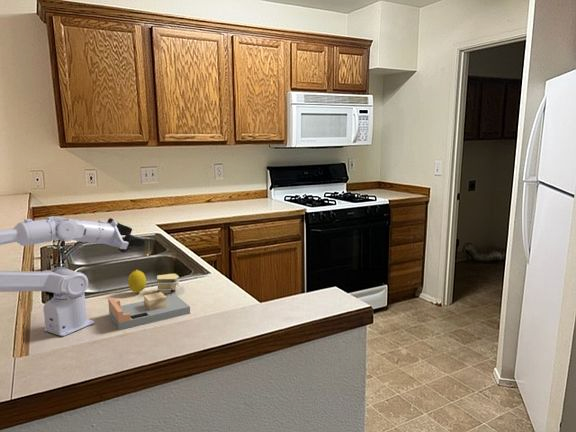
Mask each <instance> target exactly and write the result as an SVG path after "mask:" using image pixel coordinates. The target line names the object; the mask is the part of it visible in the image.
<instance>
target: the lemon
mask: <svg viewBox="0 0 576 432" xmlns="http://www.w3.org/2000/svg"><path fill="white" fill-rule="evenodd" d="M127 281H128V282H127V285H128V287H129V289H130V291H131V292H134V293H135V294H140V293H141V292H142V291H143V290H145V288H146V286H147V277H146V276H145V273H144V272H143V271H142V270H139V269H135V270H133V271H131V273H130V274H129V275H128V279H127Z"/></svg>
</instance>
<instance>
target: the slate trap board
mask: <svg viewBox="0 0 576 432" xmlns="http://www.w3.org/2000/svg"><path fill="white" fill-rule="evenodd" d="M165 296H166V295H165ZM166 297H167V307H165V308H160V309H156V310H151V311H149V310H148V309H147V308H146V306H145V305H144V300H143V301H138V302H134V303H133V302H132V303H127V304H124V305H120V306H121V307H120V308H121V309H122V311H123V314H127V313H130V317H131V320H130V321H125V322H121V323H119V322H118V321H117V319H116V318H115V317H114V315H113V314H112V312H111V311H110V309H109V308H108V314H109V316H110V318H111V319H112V321H113V322H114V323H113V324H115V326H116V327H117V329H118V330H119V331H122V330H126V329H129V328H130V329H131V328H134V327H138V326H143V325H146V324H147V325H148V324H151V323H154V322H156V323H157V322H159V321H164V320H167V319H172V318H175V317H180V316H181V317H182V316H185V315H188V314H191V307H190V305H188V304H187V302H185V301H184V300H183V299H181V298H180V296H178V295H177V294H171V295H167V296H166Z"/></svg>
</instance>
